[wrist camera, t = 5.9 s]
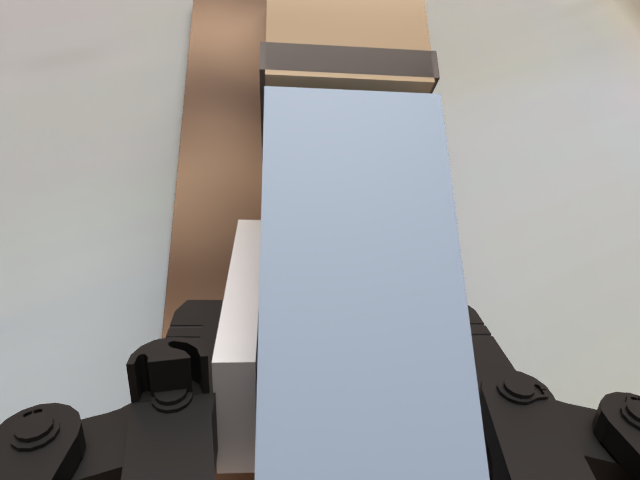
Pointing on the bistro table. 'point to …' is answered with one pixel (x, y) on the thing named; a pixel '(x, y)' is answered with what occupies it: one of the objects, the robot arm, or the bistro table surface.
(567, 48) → the bistro table surface
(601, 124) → the bistro table surface
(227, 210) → the l-shaped wooden stand
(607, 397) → the robot arm
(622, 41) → the bistro table surface
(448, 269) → the pale blue rectangular block
